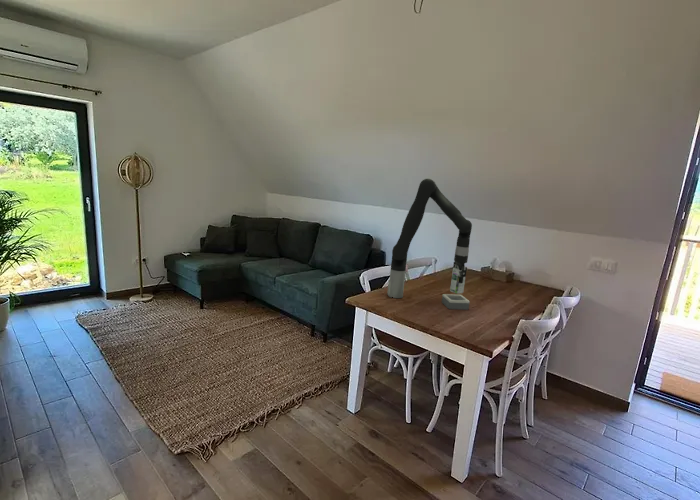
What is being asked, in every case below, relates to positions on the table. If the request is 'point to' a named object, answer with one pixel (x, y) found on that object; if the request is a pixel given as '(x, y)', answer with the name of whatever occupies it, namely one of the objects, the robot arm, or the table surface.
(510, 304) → the table surface
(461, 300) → the plinth
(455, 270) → the syrup box
